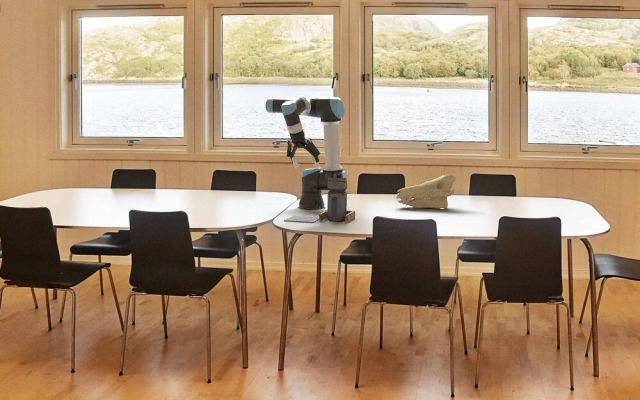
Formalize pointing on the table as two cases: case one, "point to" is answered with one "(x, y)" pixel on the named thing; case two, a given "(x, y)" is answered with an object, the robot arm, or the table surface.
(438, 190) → the animal skull
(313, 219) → the grey rubber mat
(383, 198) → the table surface
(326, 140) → the robot arm
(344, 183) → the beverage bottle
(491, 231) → the table surface
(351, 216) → the walnut dock
